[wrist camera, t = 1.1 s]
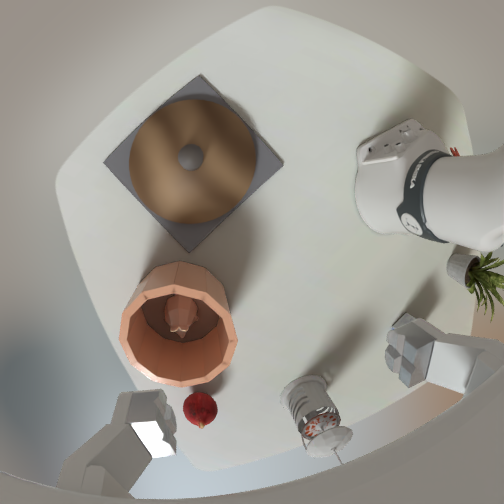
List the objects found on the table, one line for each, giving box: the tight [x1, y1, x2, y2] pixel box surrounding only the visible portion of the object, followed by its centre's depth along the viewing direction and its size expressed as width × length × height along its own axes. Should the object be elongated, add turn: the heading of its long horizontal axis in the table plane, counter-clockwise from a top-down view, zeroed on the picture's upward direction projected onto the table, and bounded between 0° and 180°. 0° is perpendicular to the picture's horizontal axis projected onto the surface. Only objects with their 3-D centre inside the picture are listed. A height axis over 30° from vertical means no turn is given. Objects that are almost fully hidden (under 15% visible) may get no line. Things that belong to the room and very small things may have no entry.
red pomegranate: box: [183, 393, 218, 428], centre depth 41 cm, size 6×6×8 cm
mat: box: [103, 76, 284, 253], centre depth 36 cm, size 18×18×1 cm
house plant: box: [447, 252, 504, 321], centre depth 42 cm, size 14×14×16 cm
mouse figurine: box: [164, 293, 198, 338], centre depth 38 cm, size 5×8×7 cm, turn 1°
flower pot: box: [119, 261, 238, 387], centre depth 36 cm, size 14×14×10 cm
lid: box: [129, 99, 256, 224], centre depth 34 cm, size 17×17×5 cm
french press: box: [280, 375, 353, 465], centre depth 37 cm, size 10×12×25 cm
